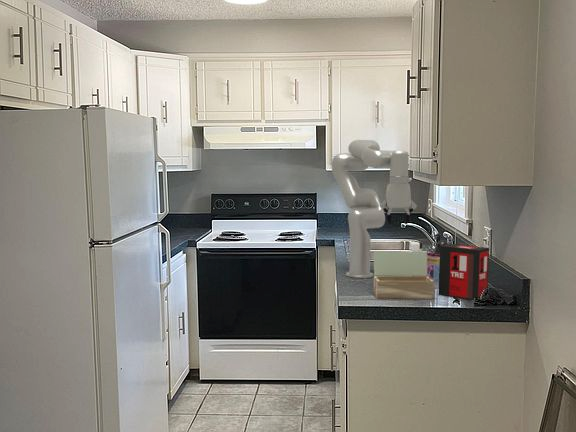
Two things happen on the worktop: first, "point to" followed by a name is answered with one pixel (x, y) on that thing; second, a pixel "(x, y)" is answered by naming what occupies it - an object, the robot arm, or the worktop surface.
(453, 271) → the cleaning product box
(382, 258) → the lid
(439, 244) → the pump dispenser
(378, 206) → the robot arm
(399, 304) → the worktop surface
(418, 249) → the medicine bottle
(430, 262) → the gum box
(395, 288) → the birch box
